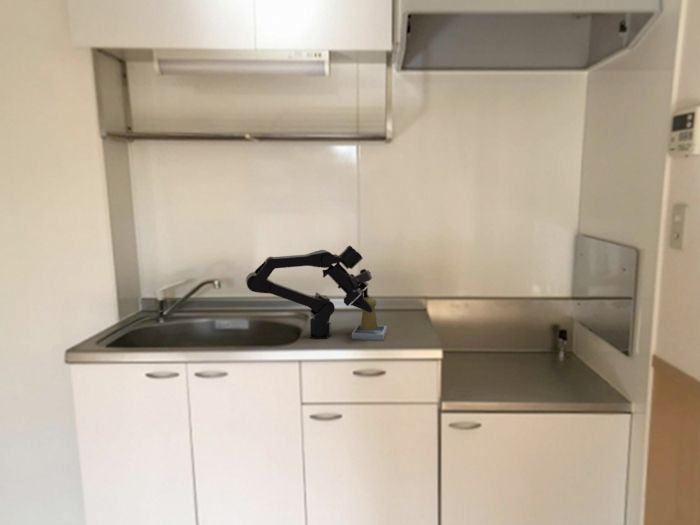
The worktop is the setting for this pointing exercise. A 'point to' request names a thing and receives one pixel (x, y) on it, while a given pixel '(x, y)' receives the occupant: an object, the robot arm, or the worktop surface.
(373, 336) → the tray
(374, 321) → the cork
